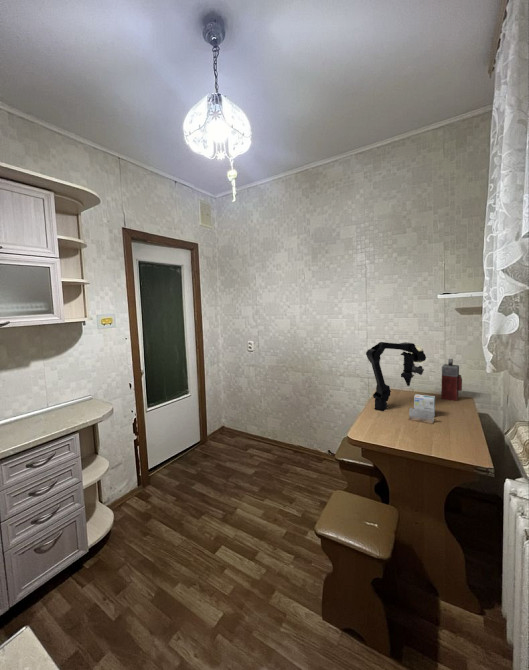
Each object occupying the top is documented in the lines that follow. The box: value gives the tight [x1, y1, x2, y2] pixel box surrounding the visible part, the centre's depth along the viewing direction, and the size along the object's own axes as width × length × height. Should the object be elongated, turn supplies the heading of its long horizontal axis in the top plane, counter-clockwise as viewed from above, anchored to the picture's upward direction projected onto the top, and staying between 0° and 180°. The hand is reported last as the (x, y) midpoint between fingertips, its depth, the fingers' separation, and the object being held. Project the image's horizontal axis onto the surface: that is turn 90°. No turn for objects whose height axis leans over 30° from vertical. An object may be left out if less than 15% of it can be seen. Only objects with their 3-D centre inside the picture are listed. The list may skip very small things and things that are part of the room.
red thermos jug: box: [440, 358, 463, 402], centre depth 192 cm, size 9×11×28 cm
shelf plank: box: [408, 418, 435, 425], centre depth 157 cm, size 12×3×1 cm, turn 55°
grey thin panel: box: [408, 407, 435, 423], centre depth 159 cm, size 12×1×6 cm, turn 55°
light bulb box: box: [413, 393, 436, 417], centre depth 168 cm, size 11×7×11 cm, turn 56°
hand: (408, 385), depth 183 cm, fingers closed
